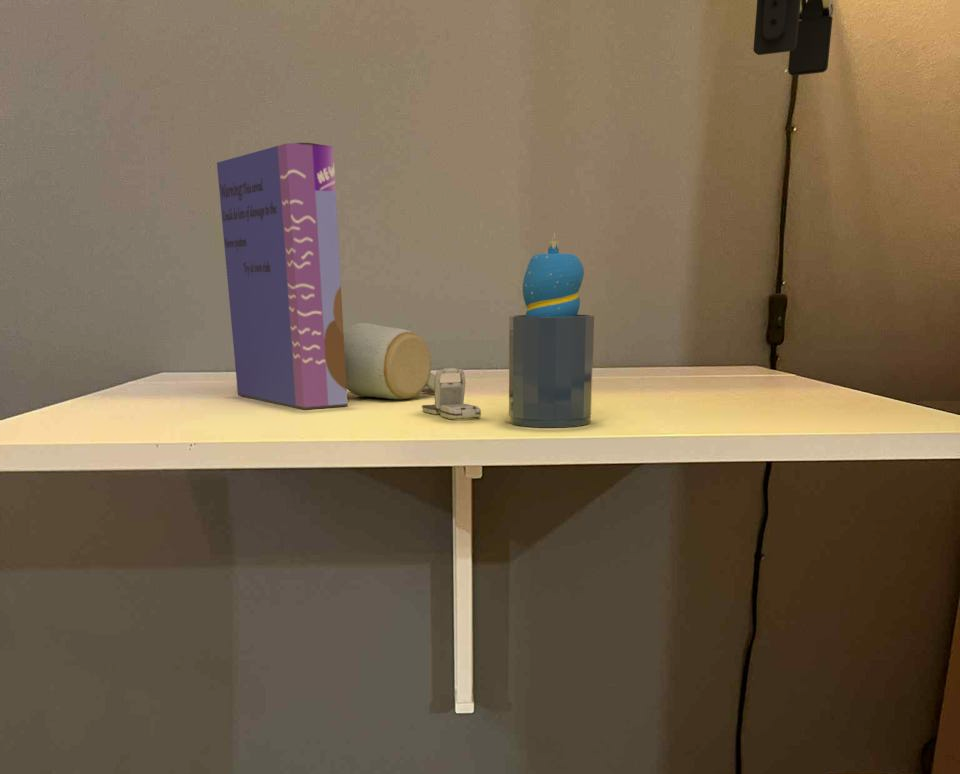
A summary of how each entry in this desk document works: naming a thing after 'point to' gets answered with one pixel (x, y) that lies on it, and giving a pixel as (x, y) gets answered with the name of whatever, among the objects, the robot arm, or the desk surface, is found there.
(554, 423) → the cup
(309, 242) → the cereal box
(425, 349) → the ceramic mug
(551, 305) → the ornament
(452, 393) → the strap clip
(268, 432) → the desk surface
